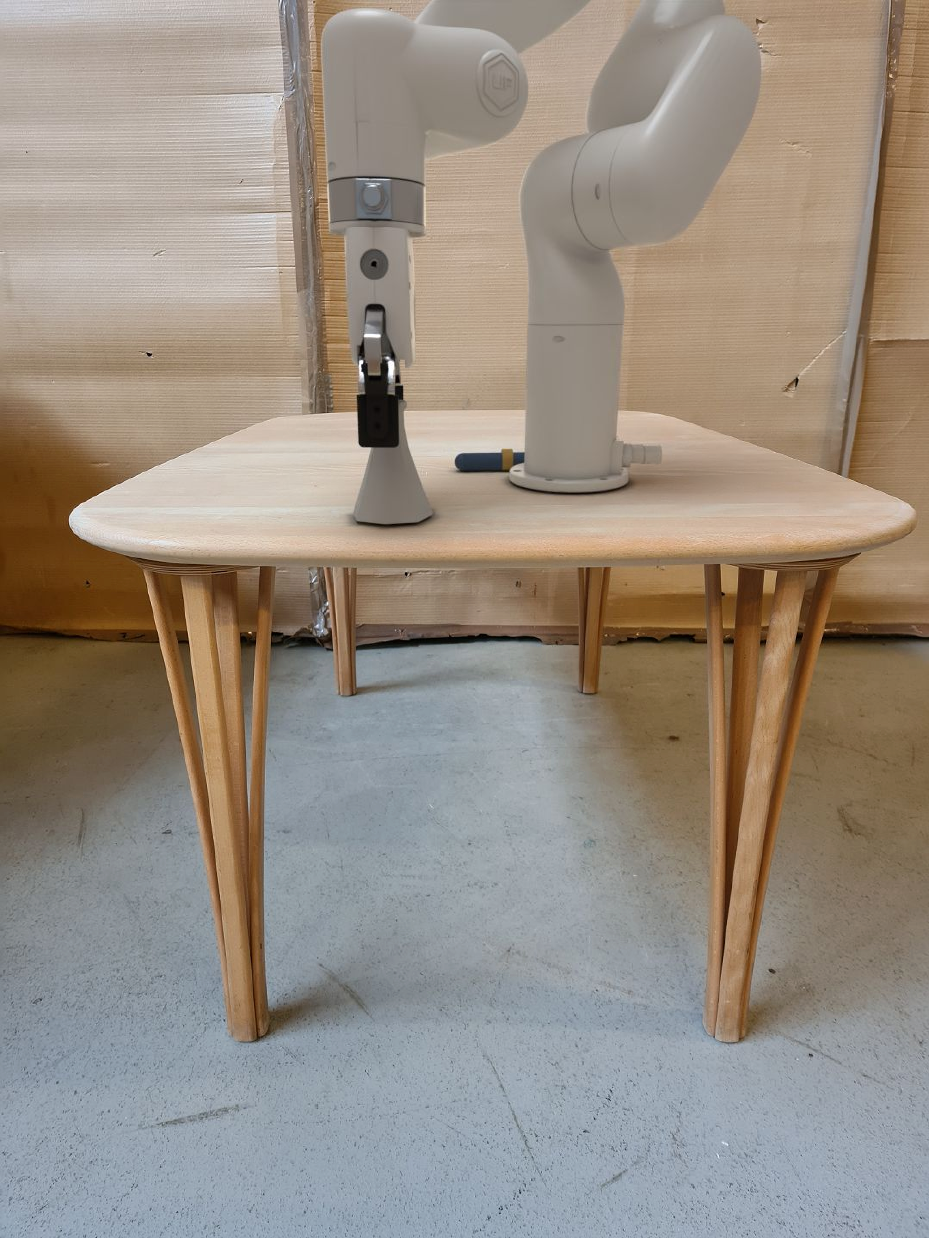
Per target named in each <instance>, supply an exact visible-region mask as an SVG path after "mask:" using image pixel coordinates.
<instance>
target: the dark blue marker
mask: <svg viewBox="0 0 929 1238" xmlns="http://www.w3.org/2000/svg"><path fill="white" fill-rule="evenodd" d="M524 455H525V451H514V449H513V448H502V449H501V451H500V452H461V453H459V454H457V455H456V456H455V458H454V466H455V467H456V469H457V470H458V471H461V472H484V471H486V472H487V471H488V472H489V471H493V472H494V471H510V469H511V468H512V467H513V466H515V465H518V464H521V463H524Z"/></svg>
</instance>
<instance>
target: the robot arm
mask: <svg viewBox="0 0 929 1238" xmlns="http://www.w3.org/2000/svg"><path fill="white" fill-rule="evenodd" d="M590 2H591V0H431V1H429V3H428V4H427V5H425V7H424V8H423V9H422V10H421V12H420V13H418V15H417V16H416V18H415V19H414V20H412V19H410V18H409V17H407V16H406V15H403V14H402V13H398V12H395V11H392V10H388V9H384V8H375V7H358V8H352V9H351V8H350V9H347V10H343V11H340V12H337V13H336V14H334V15H333V16H332V17H331V18H329V19H328V20H327V22H326V23H325V25H324V27H323V30H322V33H321V39H320V60H321V63H320V64H321V80H322V81H321V82H322V83H321V84H322V103H323V105H322V106H323V121H324V122H323V125H324V146H325V147H324V150H325V170H326V171H325V172H326V190H327V191H326V193H327V212H328V213H327V214H328V232H329V234H331V235H336V236H340V237H344V267H345V268H344V271H345V292H346V293H345V294H346V312H347V313H346V314H347V325H348V326H347V328H348V339H349V350H350V358H351V362H352V363H353V364H354V365H355V367H357V368H358V379H357V380H358V383H357V387H358V394H357V395H356V413H357V415H356V416H357V418H356V419H357V440H358V441H357V443H358V446H359V447H360V448H367V449H368V448H370V449H371V448H396V447H397V446H398V445H399V401H398V400H405V399H404V398H405V397H404V385H403V384H402V372H401V371H402V370H401V361H404V366H405V369H410V368H411V367H412V366H414V364H415V363H416V361H417V359H416V358H417V355H416V354H417V353H416V350H417V349H416V276H415V275H416V274H415V257H414V256H415V255H414V244H413V243H414V242H413V239H416V238H422V237H425V236H427V210H426V209H427V203H426V202H427V201H426V200H427V197H426V195H427V194H426V193H427V191H426V190H427V189H426V188H427V187H426V186H427V171H426V169H427V167H426V166H427V165H426V164H427V163H426V162H428V161H433V160H436V159H439V158H444V157H447V156H452V155H456V154H463V153H467V152H471V151H476V150H480V149H484V148H487V147H490V146H493V145H494V144H497V143H499V142H500V141H503V140H505V138H507V137H508V136H509V135H510V134H511V133H513V131H514V130H515V129H516V128H517V126H518V125H519V124H520V122H521V121H522V119H523V116H524V115H525V112H526V108H527V105H528V100H529V81H528V75H527V71H526V68H525V66H524V65H525V64H524V63H523V60H522V59H521V57H520V55H521V54H523V53H524V52H526V51H527V50H529V49H531V48H534V47H535V46H537V45H539V44H540V43H542V42H543V41H545V40H546V39H548V38H550V37H551V36H553V35H555V34H556V33H557V32H558V31H560V30H561V29H562V28H563V27H565V26H567V25H568V24H569V23H570V22H572V20H574V19H575V18H577V16H578V15H580V14H581V13H582V12H583V11H584V9H585V8H586V7H587V6H588V4H590ZM761 83H762V56H761V52H760V46H759V44H758V41H757V39H756V37H755V35H754V32H753V31H752V30H751V29H750V27H749V26H748V25H747V24H746V23H745V22H744V21H743V20H741V19H739V18H737V17H735V16H732V15H729V14H726V8H725V3H724V0H641V1H640V3H639V5H638V7H637V9H636V11H635V13H634V14H633V17H632V18H631V20H630V22H629V23H628V25H627V27H626V28H625V30H624V31H623V33H622V35H621V37H620V38H619V40H618V42H617V44H616V45H615V47H614V48H613V49H612V52H611V53H610V55H609V57H608V58H607V59H606V62H605V63H604V65H603V66H602V68H601V70H600V71H599V73H598V75H597V77H596V79H595V81H594V83H593V85H592V88H591V90H590V92H589V96H588V99H587V102H586V107H585V114H584V115H585V116H584V117H585V118H584V120H585V121H584V122H585V123H584V124H585V129H586V133H583V134H578V135H573V136H568V137H566V138H563V139H560V140H557V141H555V142H553V143H551V144H549V145H548V146H546V147H544V148H543V149H542V150H540V151H539V152H538V153H537V154H536V155H535V156H534V157H533V158H532V159H531V161H530V162H529V163H528V165H527V167H526V168H525V171H524V174H523V176H522V178H521V182H520V186H519V187H520V188H519V193H518V210H519V211H518V212H519V219H520V220H519V221H520V227H521V232H522V238H523V244H524V245H523V246H524V253H525V260H526V274H527V275H526V278H527V279H526V280H527V315H526V316H527V319H526V320H527V321H526V324H527V326H526V327H527V329H526V363H525V365H526V367H525V368H526V371H525V372H526V373H525V408H524V409H525V413H524V415H525V416H524V452H525V455H524V463H521V464H518V465H515V466H513V467H512V468H511V469H510V470H508V472H509V477H508V479H509V481H510V482H511V483H512V484H514V485H515V486H518V487H521V488H525V489H530V490H536V491H541V492H542V491H543V492H550V493H551V492H552V493H553V492H554V493H594V492H596V493H597V492H603V491H610V490H615V489H618V488H621V487H624V486H625V485H627V484H628V482H629V480H630V479H629V476H630V475H629V473H630V472H629V470H628V469H627V468H630V467H631V465H632V464H641V465H660V464H661V462H662V458H663V449H662V446H661V445H660V444H658V445H657V444H655V445H653V444H652V445H651V444H650V445H643V444H641V443H639V444H637V443H636V444H632V443H630V442H625V440H623V439H622V438H621V437H619V436H618V435H617V432H618V420H619V419H618V417H619V405H620V404H619V402H620V388H621V387H620V386H621V373H622V358H623V342H624V329H625V317H626V316H625V315H626V298H625V291H624V286H623V283H622V279H621V277H620V274H619V270H618V269H617V267H616V264H615V261H614V259H613V257H612V254H611V251H612V250H620V249H623V250H624V249H633V248H646V247H653V246H659V245H664V244H668V243H670V242H672V241H675V239H677V238H679V237H680V236H681V235H682V234H683V233H685V232H686V231H687V230H688V229H689V227H690V226H692V224H693V223H694V222H695V220H696V219H697V217H698V215H700V212H701V211H702V209H703V208H704V206H705V204H706V202H707V201H708V200H709V197H710V196H711V194H712V192H713V191H714V189H715V187H716V186H717V184H718V183H719V180H720V178H721V177H722V175H723V173H724V172H725V170H726V168H727V167H728V165H729V163H730V162H731V159H732V158H733V156H734V154H735V152H736V150H738V147H739V146H740V144H741V142H742V140H743V138H744V136H745V134H746V133H747V130H748V128H749V126H750V124H751V122H752V120H753V118H754V114H755V111H756V107H757V104H758V101H759V97H760V90H761Z"/></svg>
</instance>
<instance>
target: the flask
mask: <svg viewBox="0 0 929 1238" xmlns="http://www.w3.org/2000/svg"><path fill="white" fill-rule="evenodd" d="M398 401H399V445H398V446H397V447H396V448H370V451H369V455H368V458H367V463H366V467H365V471H364V475H363V478H362V482H361V485H360V488H359V492H358V495H357V499H356V501H355V505H354V509H353V511H352V512H353V515H354V519H355V521H356V522H361V523H362V522H363V523H371V524H380V525H392V524H396V525H397V524H408V523H409V524H410V523H419V522H421V521H423V520H425V519H427V518H428V517H430V516H433V515H434V513H433V510H432V508H431V504H430V502H429V500H428V499H429V498H428V497H427V494H426V492H425V488H424V486H423V484H422V481H421V479H420V476H419V474H418V470H417V467H416V464H415V461H414V458H413V456H412V454H411V450H410V448H409V442H408V437H407V433H406V428H405V427H406V426H405V410H406V409H407V405H408V402H407V400H405V399H404V400H398Z"/></svg>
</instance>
